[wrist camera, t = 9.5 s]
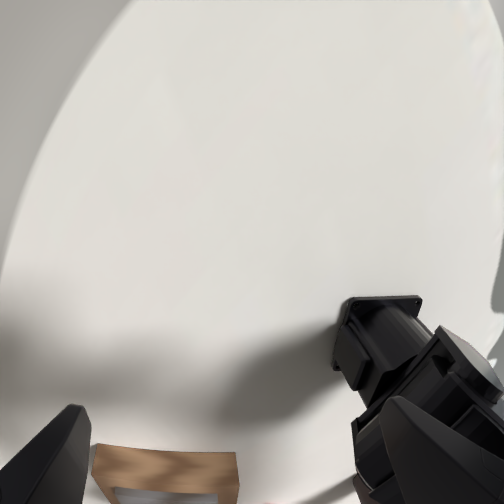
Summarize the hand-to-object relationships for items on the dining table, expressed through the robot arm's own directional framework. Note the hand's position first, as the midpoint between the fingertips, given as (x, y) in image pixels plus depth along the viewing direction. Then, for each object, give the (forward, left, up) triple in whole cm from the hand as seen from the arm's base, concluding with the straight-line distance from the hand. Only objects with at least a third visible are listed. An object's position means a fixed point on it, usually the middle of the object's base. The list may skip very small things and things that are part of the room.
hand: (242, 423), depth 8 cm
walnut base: (+5, +28, -12) cm, 31 cm away
